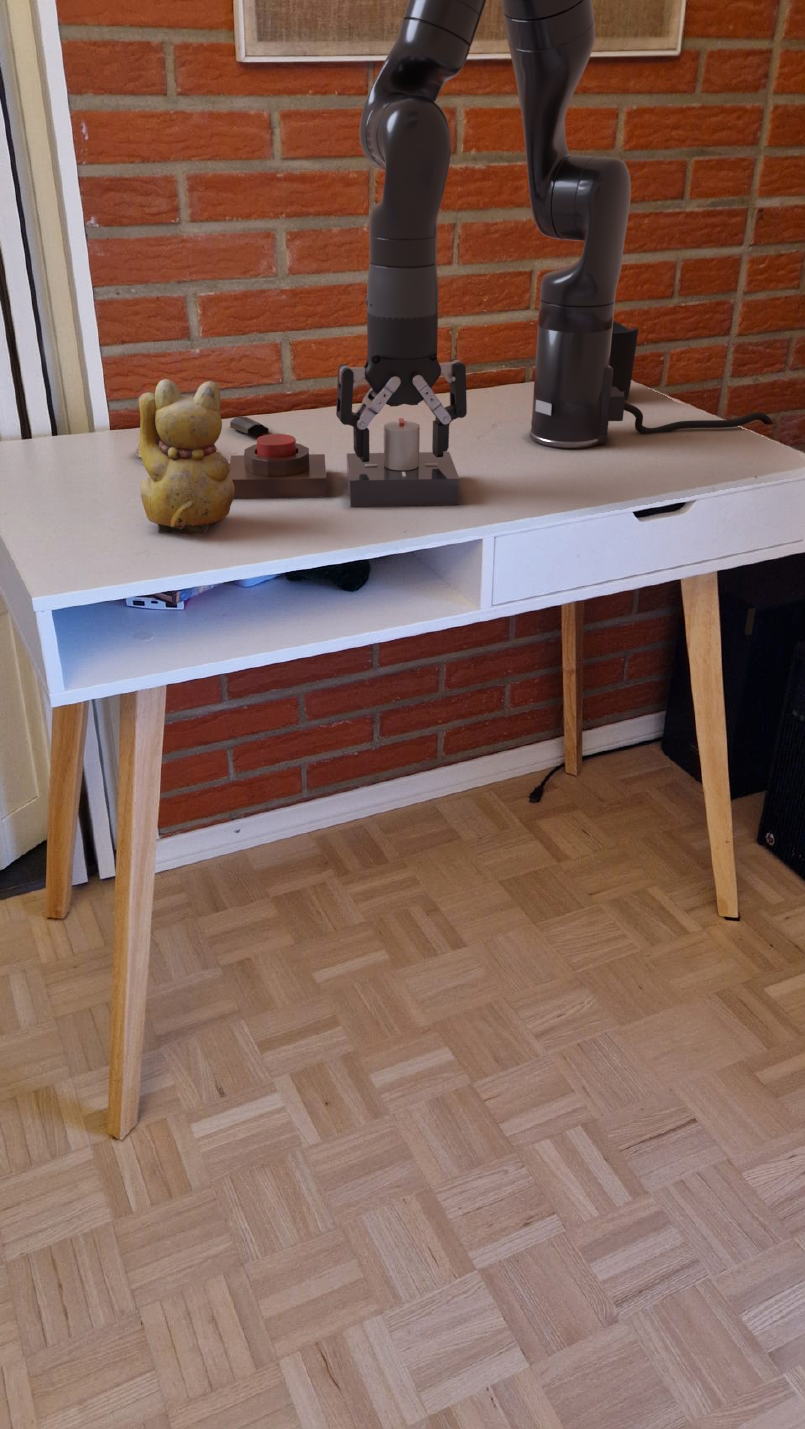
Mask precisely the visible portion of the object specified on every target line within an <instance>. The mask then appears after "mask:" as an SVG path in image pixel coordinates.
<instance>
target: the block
mask: <svg viewBox="0 0 805 1429" xmlns="http://www.w3.org/2000/svg"><path fill="white" fill-rule="evenodd" d="M229 428H230V429H233V430H236V431H238V432H241V433H244V434H246V435H269V428H268V427H267V426H265V425H264V424H261V423H260V422H258V421H256V420H255V419H252V418H249V417H248V416H242V415H240V416H234V417H233V419H231V420H230V422H229Z"/></svg>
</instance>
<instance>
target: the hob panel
mask: <svg viewBox="0 0 805 1429" xmlns="http://www.w3.org/2000/svg"><path fill="white" fill-rule="evenodd" d="M460 480H461V479H460V476H459V473H458V471H457V469H456V466H455V463H454V461H453V458H452V454H451V453H450V451H447V452H444V453H443V457H436V456H435V455H434V454H433V451H423V452H422V451H419V467H418V468H416V469H412V470H405V471H399V470H391V469H388V468H386V467H385V466H384V452H369V462H362V461H361V460H360V457H358V456H357V455H356V454H355V452H353V453H351V452H349V453H348V452H347V453H346V481H347V491H348V497H349V498H348V500H349V506H350V508H365V507H366V508H367V507H369V508H370V507H411V506H412V507H419V506H420V507H423V506H426V507H427V506H459V505H460V484H461V483H460Z"/></svg>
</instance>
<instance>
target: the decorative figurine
mask: <svg viewBox="0 0 805 1429" xmlns="http://www.w3.org/2000/svg"><path fill="white" fill-rule="evenodd" d="M138 407H139V416H140V424H139V435H138V436H139V437H138V438H139V439H138V444H139V446H140V454H141V457H140V459H141V462H142V464H143V468H144V469H145V471H146V472H147V474H148V475H146V476H145V477H144V479H143V481H142V483H141V486H140V498H141V502H142V505H143V509H144V512H145V517H146V518H147V520H148V521H150V522H151V523H154V524H156V525H157V533H158V534H166V533H167V534H170V533H171V534H201V535H203V534H204V535H205V534H206V532H207V531H208V528H209V527H210V526H211V525H213V523H217V522H219V521H221V520H223V519H225V518H227V516H228V515H229V514H230V511H231V506H232V504H233V502H234V499H235V498H234V491H235V489H234V483H233V481H232V479H231V478H230V477H229V476H228V474H229V472H230V468H231V467H230V461H229V460H228V459H227V457H225V456H224V455H223V454H222V453H220V452H218V451H217V446H216V445H215V444H216V443H217V442H218V440H219V437H221V433H222V429H223V421H222V416H221V413H220V409H221V408H220V407H221V390H220V386H219V385H218V384H217V383H216V382H215V381H211V380H208V381H205V382H203V383H202V384H200V386H199V387H198V388H197V390H196V391H195V394H194V395H182V393H181V391H180V388H179V387H178V384H176V383H175V382H174V381H172V380H170V379H168V378H164V379H161V380H160V381H159V382H157V385H156V387H155V392H154V393H153V392H149V391H147V392H144V393H142V394H141V395H140V396H139V397H138Z"/></svg>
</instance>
